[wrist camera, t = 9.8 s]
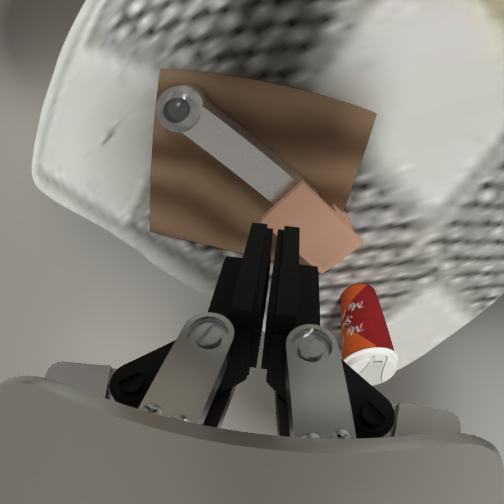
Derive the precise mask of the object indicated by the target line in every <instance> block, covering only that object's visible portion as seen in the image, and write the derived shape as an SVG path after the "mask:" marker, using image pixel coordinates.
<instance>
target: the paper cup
mask: <svg viewBox="0 0 504 504" xmlns="http://www.w3.org/2000/svg"><path fill="white" fill-rule="evenodd" d="M341 324H342V360H343V361H344V362H345V363H346V364H348V365H349V366H350V367H351V368H352V369H353V370H354V371H356V372H357V373H358V374H359V375H360V376H361V377H362V378H364V379H365V380H366V381H367V382H368V383H369V384H370V385H372V386H373V385H376V384H379V383H382V382H385V381H386V380H388V379H389V378H391V377H392V376H393V374H394V373H395V371H396V369H397V364H398V355H397V353H396V352H395V351H394V349H393V345H392V342H391V338H390V335H389V331H388V328H387V325H386V322H385V318H384V315H383V312H382V309H381V306H380V303H379V300H378V297H377V295H376V292H375V290H374V289H373V288H372V287H371V286H370V285H367V284H354V285H352V286H350V287H348V288H347V289H346V290H345V291H344V292H343V294H342V296H341Z"/></svg>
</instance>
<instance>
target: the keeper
mask: <svg viewBox="0 0 504 504" xmlns="http://www.w3.org/2000/svg"><path fill="white" fill-rule="evenodd" d="M260 222H261V223H263V224H267V225H268V226H267V228H272V229H273V233H274V234H275V235H277V233H278V229H281V230H284V226H291V227H300V245H299V255H300V256H301V257H302V258H304V259H305V260H306V261H307V262H308V263H309V264H311V265H312V266H317V267H318V271H319V272H320V273H321V274H323V273H324V272H325V271H327V270H328V269H330V268H331V267H332V266H334V265H335V264H336V263H338V262H339V261H341V260H342V259H343V258H345V257H346V256H347V255H349V254H350V253H351V252H353V251H354V250H355V249H357V248H358V247H359V246H361V245H362V244H363V243H362V240H361V238H360V237H359V236H358V235H357V234H356V233H355V232H354V231H353V230H352V226H351V223H350V220H349V216H348V215H347V214H346V213H345V212H344V210H343V213H342V212H341V211H340V210H339V209H338V208H337V207H336V206H335V205H334V204H333V205H332V206H330V207H329V206H328V205H327V204H326V203H325V202H324V201H323V200H322V199H321V198H320V197H319V196H318V195H317V194H316V193H315V192H314V191H313V190H312V189H311V188H310V187H309V186H308V185H307V184H306V183H305V182H304V181H303V180H301V181H300V182H299V183H298V184H297V185H296V186H295V187H294V188H292V189H291V190H290V191H289V192H288V193H287V194H286V195H285V196H284V197H283V198H282V199H281V200H279V201H278V202H277V203H276V204H275V205H274V206H273V207H272V208H271V209H270V210H269V211H268V212H266V213H265V214H264V215H263V216H262V217H261V221H260Z"/></svg>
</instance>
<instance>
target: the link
mask: <svg viewBox="0 0 504 504" xmlns="http://www.w3.org/2000/svg"><path fill="white" fill-rule="evenodd" d="M156 115H157V118H158V120H159V122H160V124H161V125H162V126H163V127H164V128H166V129H167V130H169V131H172V132H176V133H183V134H184V135H186V136H187V137H188V138H190V139H191V140H192V141H194V142H195V143H196V144H198V145H199V146H200V147H202V148H203V149H204V150H205V151H207V152H208V153H209V154H211V155H212V156H213V157H215V158H216V159H217V160H219V161H220V162H221V163H222V164H224V165H225V166H226V167H228V168H229V169H230V170H231V171H233V172H234V173H235V174H236V175H238V176H239V177H240V178H242V179H243V180H244V181H245V182H247V183H248V184H249V185H250V186H252V187H253V188H254V189H255V190H257V191H258V192H259V193H260V194H261V195H263V196H264V197H265V198H266V199H268V200H269V201H270V202H271V203H273V204H274V205H275V204H276V203H277V202H278V201H279V200H281V199H282V198H283V197H284V196H285V195H286V194H287V193H288V192H289V191H290V190H291V189H292V188H294V187H295V186H296V185H297V184H298V183H299V182H300V181H301V180H303V181H304V182H305V183H306V184H307V185H308V186H309V187H310V188H311V189H312V190H313V191H314V192H315V193H316V194H317V195H318V196H319V193H318V191H317V190H316V189H315V188H314V187H313V186H312V185H311V184H310V183H308V182H307V181H306V180H305V179H304V178H303V177H302V176H301V175H299V174H298V173H297V172H296V171H295V170H294V169H293V168H291V167H290V166H289V165H288V164H287V163H286V162H284V161H283V160H282V159H281V158H280V157H279V156H277V155H276V154H275V153H274V152H273V151H271V150H270V149H269V148H268V147H267V146H265V145H264V144H263V143H262V142H261V141H259V140H258V139H257V138H256V137H254V136H253V135H252V134H251V133H249V132H248V131H247V130H246V129H244V128H243V127H242V126H240V125H239V124H238V123H237V122H235V121H234V120H233V119H231V118H230V117H229V116H228V115H226V114H225V113H224V112H222V111H221V110H220V109H218V108H217V107H216V106H214V105H213V104H211V103H210V102H209V98H208V96H207V94H206V93H205V92H204V90H203V89H201V88H200V87H198V86H196V85H192V84H186V85H180V86H175V87H171V88H169V89H167V90H166V91H164V92H163V93H162V94H161V95H160V97H159V99H158V101H157V104H156Z"/></svg>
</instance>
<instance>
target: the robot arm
mask: <svg viewBox="0 0 504 504" xmlns="http://www.w3.org/2000/svg"><path fill="white" fill-rule="evenodd" d="M267 226H268V225H267V224H263V223H253V222H252V224H251V228H250V232H249V236H248V240H247V244H246V247H245V251H244V255H243V258H237V257H228V256H227V257H226V258H225V260H224V263H223V266H222V270H221V273H220V276H219V279H218V282H217V285H216V288H215V291H214V294H213V297H212V301H211V304H210V307H209V310H208V312H207V313H201V314H198V315H195V316H193V317H192V318H191V319H189V320H188V321H187V323H186V324H185V325H184V327H183V329H182V330H181V332H180V334H179V336H178V337H177V339H176V340H175V341H173V342H171V343H169V344H167V345H165V346H163V347H161V348H159V349H157V350H154V351H152V352H150V353H148V354H146V355H144V356H142V357H140V358H138V359H136V360H133V361H131V362H129V363H127V364H125V365H123V366H121V367H120V368H118V369H113V368H112V367H111V366H107V365H93V364H82V363H72V362H57V363H55V364H53V365H52V366H51V367H50V368H49V369H48V371H47V373H46V375H45V378H43V377H36V376H19V377H13V378H9V379H7V380H5V381H3V382H2V383H1V384H0V504H504V467H503V463H502V459H501V456H500V454H499V452H498V450H497V449H496V447H495V446H494V445H493V444H491V443H490V442H488V441H486V440H485V439H482V438H480V437H477V436H474V435H469V434H464V433H461V427H460V421H459V419H458V417H457V416H456V415H455V414H454V413H453V412H450V411H447V410H442V409H435V408H428V407H422V406H415V405H410V404H405V403H399V404H398V405H395V404H391V403H390V402H389V401H388V400H387V399H386V398H385V397H384V396H383V395H382V394H381V393H380V392H378V391H377V390H376V389H375V388H374V387H373V386H372V385H370V384H369V383H368V382H367V381H366V380H365V379H364V378H362V377H361V376H360V375H359V374H358V373H357V372H356V371H354V370H353V369H352V368H351V367H350V366H349V365H348V364H346V363H345V362H344V361H343V360H342V359H341V356H340V352H339V347H338V343H337V341H336V338H335V337H334V335H333V334H332V333H331V332H330V331H329V330H327V329H326V328H324V327H321V326H320V304H319V277H318V267H317V266H310V265H301V264H299V245H300V227H291V226H284V230H281V229H278V233H277V241H276V249H275V257H274V265H273V273H272V281H271V289H270V296H269V304H268V312H267V320H266V330H265V339H264V349H263V357H262V366H261V368H263V369H267V377H266V378H267V380H266V382H267V383H268V384H269V385H270V386H271V387H272V388H273V389H274V390H275V405H276V425H277V436H273V435H264V434H255V433H247V432H240V431H233V430H227V429H221V428H220V427H221V425H222V422H223V419H224V417H225V414H226V412H227V409H228V406H229V404H230V401H231V399H232V396H233V394H234V391H235V387H236V385H237V384H239V383H240V382H242V381H244V380H245V379H246V378H247V375H249V370H250V367H255V368H256V365H257V359H258V352H259V346H260V339H261V332H262V325H263V319H264V312H265V305H266V298H267V291H268V281H269V270H270V259H271V248H272V236H273V229H272V228H267Z"/></svg>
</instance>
